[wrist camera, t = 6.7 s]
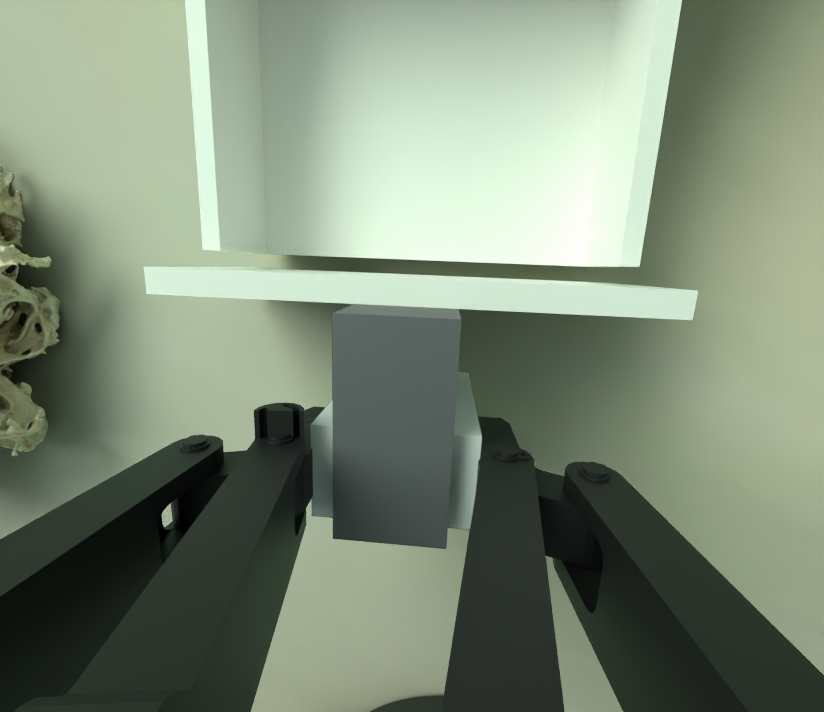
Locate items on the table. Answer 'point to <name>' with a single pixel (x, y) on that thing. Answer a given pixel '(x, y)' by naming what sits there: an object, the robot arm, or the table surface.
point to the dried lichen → (20, 328)
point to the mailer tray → (423, 195)
